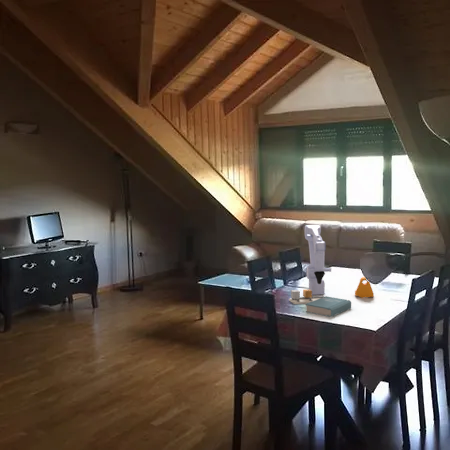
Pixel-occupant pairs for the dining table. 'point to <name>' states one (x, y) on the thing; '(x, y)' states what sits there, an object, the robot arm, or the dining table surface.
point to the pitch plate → (301, 298)
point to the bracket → (364, 289)
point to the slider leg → (307, 293)
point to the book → (328, 306)
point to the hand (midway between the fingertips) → (319, 283)
